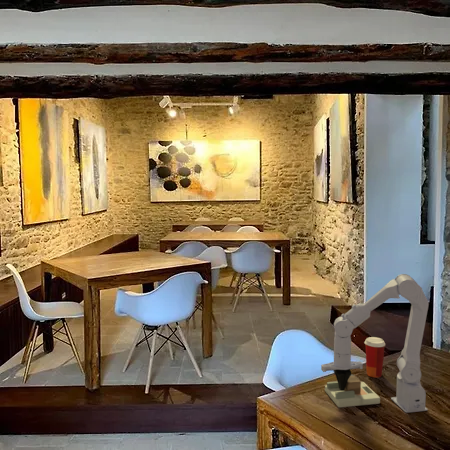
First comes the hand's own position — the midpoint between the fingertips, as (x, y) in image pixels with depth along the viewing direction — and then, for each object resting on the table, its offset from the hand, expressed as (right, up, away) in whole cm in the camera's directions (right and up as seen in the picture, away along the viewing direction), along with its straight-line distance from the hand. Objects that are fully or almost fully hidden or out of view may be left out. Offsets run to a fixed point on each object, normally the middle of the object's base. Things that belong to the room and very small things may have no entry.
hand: (341, 389), depth 153 cm
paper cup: (+18, -1, +18) cm, 25 cm away
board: (+4, -3, +1) cm, 5 cm away
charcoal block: (+6, -2, +10) cm, 12 cm away
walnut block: (+4, -1, +1) cm, 4 cm away
